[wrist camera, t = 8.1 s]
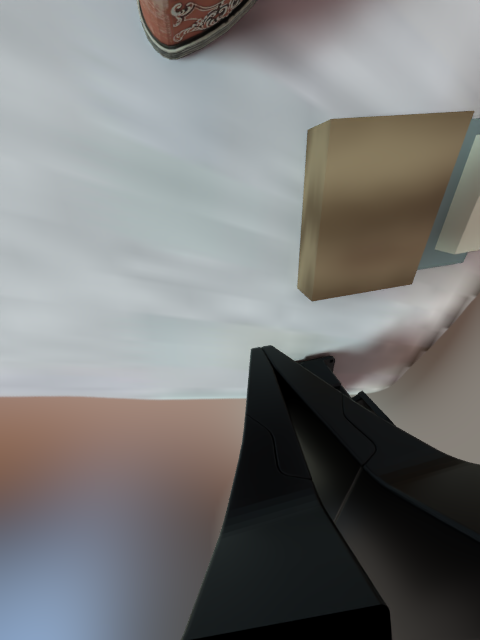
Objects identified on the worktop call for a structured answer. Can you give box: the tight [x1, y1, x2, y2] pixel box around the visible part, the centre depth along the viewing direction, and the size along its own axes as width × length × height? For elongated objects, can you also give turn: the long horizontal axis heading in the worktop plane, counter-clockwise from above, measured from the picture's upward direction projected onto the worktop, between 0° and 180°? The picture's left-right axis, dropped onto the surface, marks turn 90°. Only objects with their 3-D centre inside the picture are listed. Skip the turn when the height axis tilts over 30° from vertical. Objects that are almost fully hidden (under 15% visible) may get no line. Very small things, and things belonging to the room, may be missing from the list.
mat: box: [417, 118, 480, 270], centre depth 20 cm, size 12×9×1 cm
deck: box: [297, 111, 474, 301], centre depth 18 cm, size 12×10×3 cm
